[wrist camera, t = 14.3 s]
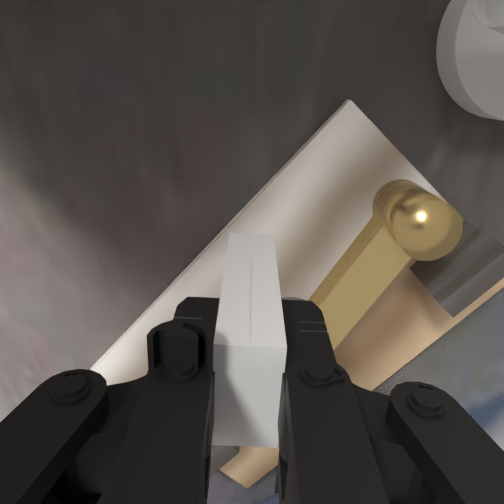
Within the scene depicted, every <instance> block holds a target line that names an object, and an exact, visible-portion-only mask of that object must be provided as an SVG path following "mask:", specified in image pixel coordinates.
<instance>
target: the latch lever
mask: <svg viewBox="0 0 504 504" xmlns="http://www.w3.org/2000/svg"><path fill="white" fill-rule="evenodd" d="M372 209H373V214H374V215H373V217H372V218H371V219H370V220H369V222H368V223H367V224H366V226H365V227H364V228H363V229H362V231H361V232H360V233H359V235H358V236H357V237H356V238H355V240H354V241H353V242H352V244H351V245H350V246H349V247H348V249H347V250H346V251H345V253H344V254H343V255H342V256H341V258H340V259H339V260H338V262H337V263H336V264H335V265H334V267H333V268H332V269H331V271H330V272H329V273H328V275H327V276H326V277H325V278H324V280H323V281H322V282H321V284H320V285H319V286H318V287H317V289H316V290H315V291H314V293H313V294H312V295H311V296H310V298H309V299H308V300H307V301H313V302H314V303H315V304H316V305H317V306H318V307H319V308H320V309H321V310H322V313H323V316H324V320H325V323H326V327H327V333H328V334H329V337H330V341H331V344H332V348H333V351H334V349H335V348H336V347H337V346H338V345H339V343H340V342H341V341H342V340H343V339H344V337H345V336H346V335H347V334H348V333H349V331H350V330H351V329H352V328H353V327H354V326H355V324H356V323H357V322H358V321H359V320H360V318H361V317H362V316H363V315H364V314H365V312H366V311H367V310H368V309H369V308H370V307H371V305H372V304H373V303H374V302H375V301H376V299H377V298H378V297H379V296H380V295H381V293H382V292H383V291H384V290H385V289H386V288H387V286H388V285H389V284H390V283H391V282H392V280H393V279H394V278H395V277H396V276H397V274H398V273H399V272H400V271H401V270H402V268H403V267H404V266H405V265H406V264H407V263H408V261H409V260H410V259H411V258H414V259H416V260H420V261H432V260H436V259H439V258H441V257H443V256H445V255H447V254H448V253H449V252H451V251H452V250H453V249H454V248H455V246H456V245H457V243H458V242H459V240H460V238H461V234H462V229H463V225H462V219H461V217H460V214H459V213H458V211H457V210H456V209H455V208H454V207H452V206H451V205H449V204H448V203H446V202H445V201H443V200H441V199H440V198H438V197H437V196H435V195H433V194H432V193H430V192H429V191H427V190H425V189H424V188H422V187H421V186H419V185H417V184H416V183H414V182H412V181H410V180H407V179H396V180H392V181H390V182H388V183H386V184H385V185H383V186H382V187H381V188H380V189H379V190H378V192H377V193H376V195H375V197H374V200H373V205H372Z"/></svg>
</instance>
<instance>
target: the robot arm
mask: <svg viewBox="0 0 504 504" xmlns="http://www.w3.org/2000/svg"><path fill="white" fill-rule="evenodd" d="M147 354H148V372H147V374H146V375H145V376H143V377H140V378H138V379H136V380H132V381H128V382H124V383H118V384H113V385H107V382H106V380H105V378H104V377H103V376H102V375H101V374H100V373H97V372H95V371H92V370H84V369H76V370H70V371H64V372H62V373H59V374H57V375H54V376H52V377H50V378H49V379H47V380H46V381H45V382H43V383H42V384H40V385H39V386H38V387H37V388H36V389H35V390H34V391H33V392H32V393H31V394H30V395H29V396H28V397H27V398H26V399H25V400H24V401H22V402H21V403H20V404H19V405H18V406H17V407H16V408H15V409H14V410H13V411H12V412H11V413H10V414H9V415H8V416H7V417H6V418H5V419H3V421H1V422H0V504H207V497H208V487H209V478H210V468H211V445H223V446H248V447H273V448H277V446H278V438H279V457H278V467H277V477H276V487H275V493H279V502H280V503H279V504H504V451H503V450H502V449H501V448H500V447H499V446H498V445H497V444H496V443H495V442H494V441H493V439H492V438H491V437H490V436H489V435H488V434H487V433H486V432H485V431H484V430H483V429H482V428H481V427H480V426H479V425H478V424H477V422H476V421H475V420H474V419H473V418H472V417H471V416H470V415H469V414H468V413H467V412H466V411H465V410H464V409H463V408H462V407H461V405H460V404H459V403H458V402H457V401H456V400H455V399H454V398H452V397H451V396H450V395H449V394H447V393H446V392H445V391H443V390H441V389H439V388H437V387H435V386H433V385H429V384H425V383H421V382H404V383H401V384H398V385H396V386H395V387H394V388H393V389H392V391H391V395H390V396H388V395H384V394H380V393H377V392H373V391H369V390H367V389H364V388H361V387H359V386H357V385H355V384H353V383H352V382H351V379H350V376H349V375H348V373H347V372H346V370H345V369H344V368H343V367H341V366H340V365H339V364H337V362H336V359H335V355H334V351H333V348H332V344H331V341H330V337H329V334H328V333H327V327H326V323H325V320H324V316H323V313H322V310H321V309H320V308H319V307H318V306H317V305H316V304H315V303H314V302H313V301H304V300H282V299H281V294H280V285H279V277H278V269H277V261H276V252H275V244H274V236H273V235H272V234H252V233H231V232H230V234H229V240H228V247H227V254H226V261H225V268H224V275H223V281H222V288H221V295H220V298H210V297H186V298H185V299H184V300H183V301H182V302H181V303H179V304H178V305H177V308H176V311H175V314H174V318H173V320H171V321H167V322H164V323H161V324H159V325H157V326H155V327H154V328H152V329H151V330H150V332H149V333H148V334H147Z"/></svg>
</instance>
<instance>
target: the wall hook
mask: <svg viewBox="0 0 504 504" xmlns="http://www.w3.org/2000/svg"><path fill="white" fill-rule="evenodd" d="M436 60H437V67H438V72H439V76H440V79H441V81H442V84H443V86H444V88H445V89H446V91H447V93H448V94H449V95H450V97H451V98H452V99H453V100H454V101H455V102H456V103H457V104H458V105H459V106H460V107H462V108H463V109H464V110H466V111H468V112H470V113H472V114H474V115H477V116H480V117H484V118H489V119H496V120H502V121H504V0H451V1H450V3H449V4H448V6H447V8H446V11H445V13H444V15H443V18H442V21H441V24H440V27H439V31H438V36H437V44H436Z"/></svg>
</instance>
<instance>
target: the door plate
mask: <svg viewBox="0 0 504 504" xmlns="http://www.w3.org/2000/svg"><path fill="white" fill-rule="evenodd" d="M396 179H407V180H410V181H412V182H414V183H416V184H417V185H419V186H421V187H422V188H424V189H425V190H427V191H429V192H430V193H432V194H433V195H435V196H437V197H438V198H440V199H441V200H443V201H445V202H446V200H445V199H444V198H443V197H442V196H441V195H440V194H439V193H438V192H437V191H436V190H435V189H434V188H433V187H432V186H431V185H430V183H429V182H428V181H427V180H426V179H425V178H424V177H423V176H422V175H421V174H420V173H419V172H418V171H417V170H416V169H415V167H414V166H413V165H412V164H411V163H410V162H409V161H408V160H407V159H406V158H405V157H404V156H403V155H402V154H401V153H400V152H399V150H398V149H397V148H396V147H395V146H394V145H393V144H392V143H391V142H390V141H389V140H388V139H387V138H386V137H385V136H384V135H383V133H382V132H381V131H380V130H379V129H378V128H377V127H376V126H375V125H374V124H373V123H372V122H371V121H370V120H369V119H368V117H367V116H366V115H365V114H364V113H363V112H362V111H361V110H360V109H359V108H358V107H357V106H356V105H355V104H354V103H353V102H352V100H349V99H346V100H345V101H344V103H343V104H342V105H341V106H340V107H339V108H338V109H337V110H336V111H335V112H334V113H333V114H332V115H331V116H330V117H329V118H328V119H327V120H326V121H325V122H324V124H323V125H322V126H321V127H320V128H319V129H318V130H317V131H316V132H315V133H314V134H313V135H312V136H311V137H310V138H309V139H308V140H307V141H306V142H305V143H304V145H303V146H302V147H301V148H300V149H299V150H298V151H297V152H296V153H295V154H294V155H293V156H292V157H291V158H290V159H289V160H288V161H287V162H286V163H285V164H284V166H283V167H282V168H281V169H280V170H279V171H278V172H277V173H276V174H275V175H274V176H273V177H272V178H271V179H270V180H269V181H268V182H267V183H266V184H265V185H264V186H263V188H262V189H261V190H260V191H259V192H258V193H257V194H256V195H255V196H254V197H253V198H252V199H251V200H250V201H249V202H248V203H247V204H246V205H245V206H244V207H243V209H242V210H241V211H240V212H239V213H238V214H237V215H236V216H235V217H234V218H233V219H232V220H231V221H230V222H229V223H228V224H227V225H226V226H225V227H224V228H223V230H222V231H221V232H220V233H219V234H218V235H217V236H216V237H215V238H214V239H213V240H212V241H211V242H210V243H209V244H208V245H207V246H206V247H205V248H204V249H203V251H202V252H201V253H200V254H199V255H198V256H197V257H196V258H195V259H194V260H193V261H192V262H191V263H190V264H189V265H188V266H187V267H186V268H185V269H184V270H183V271H182V273H181V274H180V275H179V276H178V277H177V278H176V279H175V280H174V281H173V282H172V283H171V284H170V285H169V286H168V287H167V288H166V289H165V290H164V291H163V292H162V294H161V295H160V296H159V297H158V298H157V299H156V300H155V301H154V302H153V303H152V304H151V305H150V306H149V307H148V308H147V309H146V310H145V311H144V312H143V313H142V315H141V316H140V317H139V318H138V319H137V320H136V321H135V322H134V323H133V324H132V325H131V326H130V327H129V328H128V329H127V330H126V331H125V332H124V333H123V334H122V336H121V337H120V338H119V339H118V340H117V341H116V342H115V343H114V344H113V345H112V346H111V347H110V348H109V349H108V350H107V351H106V352H105V353H104V354H103V355H102V356H101V358H100V359H99V360H98V361H97V362H96V363H95V364H94V365H93V366H92V367H91V368H90V370H92V371H95V372H97V373H100V374H101V375H102V376H103V377H104V378H105V380H106V382H107V385H113V384H118V383H124V382H128V381H132V380H136V379H138V378H140V377H143V376H145V375H146V374H147V372H148V354H147V334H148V333H149V332H150V330H151V329H152V328H154V327H155V326H157V325H159V324H161V323H164V322H167V321H171V320H173V318H174V314H175V311H176V308H177V305H178V304H179V303H181V302H182V301H183V300H184V299H185V298H186V297H210V298H220V295H221V288H222V281H223V275H224V268H225V261H226V254H227V247H228V240H229V234H230V232H231V233H252V234H272V235H273V236H274V244H275V252H276V261H277V269H278V277H279V285H280V294H281V299H282V300H304V301H307V300H308V299H309V298H310V296H311V295H312V294H313V293H314V291H315V290H316V289H317V287H318V286H319V285H320V284H321V282H322V281H323V280H324V278H325V277H326V276H327V275H328V273H329V272H330V271H331V269H332V268H333V267H334V265H335V264H336V263H337V262H338V260H339V259H340V258H341V256H342V255H343V254H344V253H345V251H346V250H347V249H348V247H349V246H350V245H351V244H352V242H353V241H354V240H355V238H356V237H357V236H358V235H359V233H360V232H361V231H362V229H363V228H364V227H365V226H366V224H367V223H368V222H369V220H370V219H371V218H372V217H373V215H374V214H373V209H372V205H373V200H374V197H375V195H376V193H377V192H378V190H379V189H380V188H381V187H382V186H383V185H385V184H386V183H388V182H390V181H392V180H396ZM446 203H447V202H446ZM460 217H461V216H460ZM461 219H462V218H461ZM462 225H463V229H462V234H461V238H460V240H459V242H458V243H457V245H456V246H455V248H454V249H453V250H452V251H451V252H449V253H448V254H447V255H445V256H443V257H441V258H439V259H436V260H432V261H420V260H416V259H414V258H411V259H410V260H409V261H408V263H407V264H406V265H405V266H404V267H403V268H402V270H401V271H400V272H399V273H398V274H397V276H396V277H395V278H394V279H393V280H392V282H391V283H390V284H389V285H388V286H387V288H386V289H385V290H384V291H383V292H382V293H381V295H380V296H379V297H378V298H377V299H376V301H375V302H374V303H373V304H372V305H371V307H370V308H369V309H368V310H367V311H366V312H365V314H364V315H363V316H362V317H361V318H360V320H359V321H358V322H357V323H356V324H355V326H354V327H353V328H352V329H351V330H350V331H349V333H348V334H347V335H346V336H345V337H344V339H343V340H342V341H341V342H340V343H339V345H338V346H337V347H336V348H335V349H334V355H335V359H336V362H337V364H339V365H340V366H341V367H343V368H344V369H345V370H346V372H347V373H348V375H349V376H350V379H351V382H352V383H353V384H355V385H357V386H359V387H361V388H364V389H367V390H369V391H372V390H373V389H375V388H376V387H377V386H378V385H380V384H381V383H382V382H384V381H385V380H386V379H387V378H389V377H390V376H391V375H392V374H394V373H395V372H396V371H398V370H399V369H400V368H401V367H403V366H404V365H405V364H406V363H408V362H409V361H410V360H412V359H413V358H414V357H415V356H417V355H418V354H419V353H420V352H422V351H423V350H424V349H426V348H427V347H428V346H429V345H431V344H432V343H433V342H434V341H436V340H437V339H438V338H440V337H441V336H442V335H443V334H445V333H446V332H447V331H448V330H450V329H451V328H452V327H453V326H455V325H456V324H457V323H459V322H460V321H461V320H462V319H464V318H465V317H466V316H467V315H469V314H470V313H471V312H473V311H474V310H475V309H476V308H478V307H479V306H480V305H481V304H483V303H484V302H485V301H487V300H488V299H489V298H490V297H492V296H493V295H494V294H495V293H497V292H498V291H499V290H501V289H502V288H503V287H504V246H502V245H501V244H499V243H498V242H496V241H495V240H493V239H492V238H490V237H489V236H487V235H486V234H484V233H483V232H481V231H480V230H478V229H476V228H475V227H473V226H472V225H470V224H469V223H467V222H466V221H464V220H463V219H462ZM278 457H279V438H278V446H277V448H273V447H248V446H223V445H211V468H210V477H211V476H212V475H213V474H214V473H215V472H217V471H218V470H220V471H222V472H223V473H225V474H226V475H228V476H229V477H231V478H232V479H234V480H235V481H236V482H238V483H239V484H241V485H242V486H244V487H245V488H247V489H248V488H249V487H250V486H251V485H253V484H254V483H255V482H256V481H258V480H259V479H260V478H262V477H263V476H264V475H265V474H267V473H268V472H269V471H270V470H272V469H273V468H274V467H276V466H277V465H278Z"/></svg>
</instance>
